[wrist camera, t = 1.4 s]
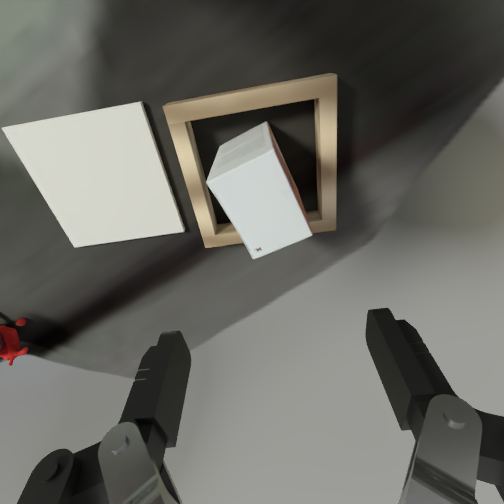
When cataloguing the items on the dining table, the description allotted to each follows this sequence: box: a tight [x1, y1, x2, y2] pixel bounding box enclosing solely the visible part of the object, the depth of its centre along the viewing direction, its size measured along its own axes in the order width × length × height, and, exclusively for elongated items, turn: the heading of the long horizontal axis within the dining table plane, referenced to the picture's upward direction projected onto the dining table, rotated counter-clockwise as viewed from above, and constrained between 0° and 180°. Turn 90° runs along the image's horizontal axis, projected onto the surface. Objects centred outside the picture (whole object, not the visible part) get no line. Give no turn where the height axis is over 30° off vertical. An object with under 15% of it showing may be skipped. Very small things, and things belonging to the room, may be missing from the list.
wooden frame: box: [163, 73, 337, 248], centre depth 30 cm, size 15×15×2 cm
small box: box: [206, 121, 313, 259], centre depth 26 cm, size 8×6×10 cm
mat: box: [2, 101, 185, 247], centre depth 31 cm, size 14×14×1 cm
